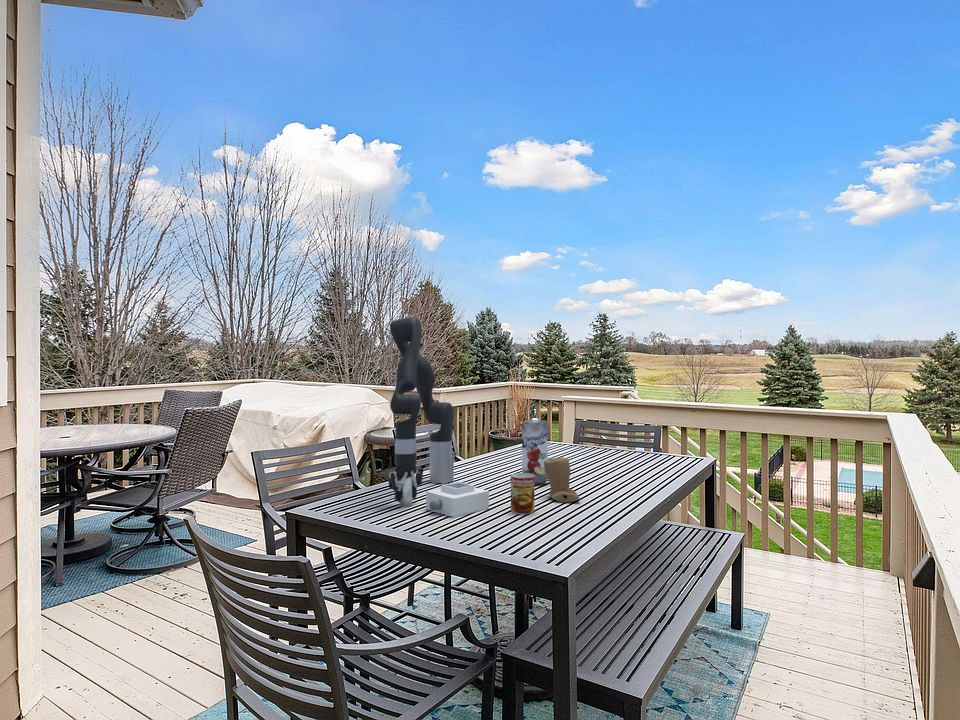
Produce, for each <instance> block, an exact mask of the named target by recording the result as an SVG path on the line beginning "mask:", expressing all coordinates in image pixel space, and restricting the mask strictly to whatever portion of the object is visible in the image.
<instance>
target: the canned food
mask: <svg viewBox="0 0 960 720" xmlns="http://www.w3.org/2000/svg"><path fill="white" fill-rule="evenodd" d="M510 511H511V513H514V514H517V515H530V514H533V513H535V485H534V475H533V474H529V473H522V472H515V473H511V474H510Z"/></svg>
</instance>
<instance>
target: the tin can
mask: <svg viewBox="0 0 960 720" xmlns="http://www.w3.org/2000/svg"><path fill="white" fill-rule="evenodd" d="M399 481H401V480H399ZM400 491H401V502H398V503H399V507H400V506H401V507H400V508H409V507H410V506H411V507H413V499H412V477H407V478H405V481H404V484H403V485H402V487H401V490H400Z"/></svg>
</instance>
